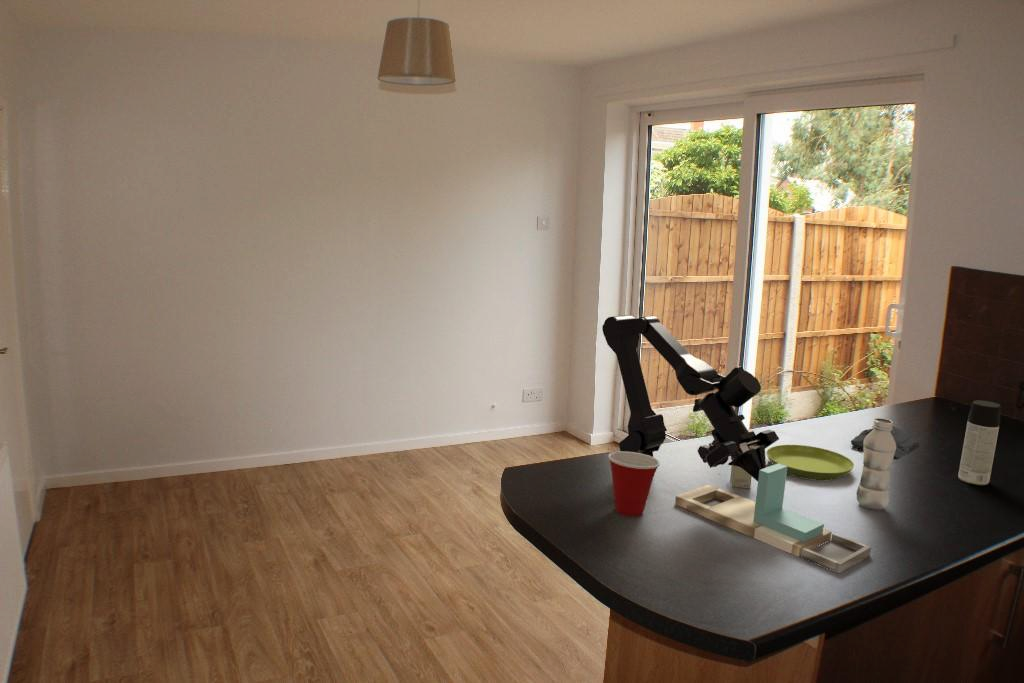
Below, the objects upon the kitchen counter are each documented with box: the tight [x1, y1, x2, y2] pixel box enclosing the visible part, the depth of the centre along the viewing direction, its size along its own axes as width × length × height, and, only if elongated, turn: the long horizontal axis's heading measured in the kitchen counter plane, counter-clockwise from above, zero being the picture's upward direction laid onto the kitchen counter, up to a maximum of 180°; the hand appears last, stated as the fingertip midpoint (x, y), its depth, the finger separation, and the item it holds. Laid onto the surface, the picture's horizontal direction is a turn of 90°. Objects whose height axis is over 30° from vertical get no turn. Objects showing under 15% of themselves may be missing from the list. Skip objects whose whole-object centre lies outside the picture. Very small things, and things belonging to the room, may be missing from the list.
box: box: [729, 429, 754, 489], centre depth 173 cm, size 5×4×13 cm
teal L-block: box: [753, 463, 825, 542], centre depth 146 cm, size 11×7×11 cm, turn 40°
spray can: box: [957, 399, 1002, 486], centre depth 182 cm, size 7×7×20 cm
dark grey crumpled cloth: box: [850, 425, 920, 460], centre depth 209 cm, size 15×22×5 cm
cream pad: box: [753, 526, 825, 554], centre depth 147 cm, size 8×12×2 cm, turn 129°
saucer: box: [765, 444, 855, 481], centre depth 187 cm, size 21×21×3 cm
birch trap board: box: [674, 484, 872, 574], centre depth 151 cm, size 37×12×2 cm, turn 40°
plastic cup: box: [608, 451, 661, 518], centre depth 155 cm, size 11×11×12 cm
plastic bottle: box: [856, 417, 896, 511], centre depth 163 cm, size 6×7×20 cm
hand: (765, 484), depth 150 cm, fingers closed
